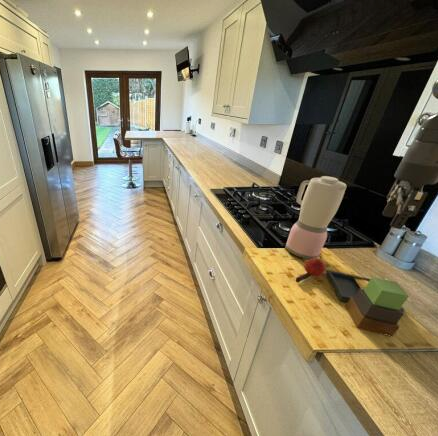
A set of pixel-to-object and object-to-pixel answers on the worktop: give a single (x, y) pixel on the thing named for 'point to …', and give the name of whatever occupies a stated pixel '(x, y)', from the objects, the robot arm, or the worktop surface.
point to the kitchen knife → (303, 277)
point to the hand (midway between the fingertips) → (390, 221)
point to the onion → (315, 267)
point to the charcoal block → (376, 309)
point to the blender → (314, 216)
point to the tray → (344, 285)
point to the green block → (385, 293)
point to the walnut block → (369, 320)
